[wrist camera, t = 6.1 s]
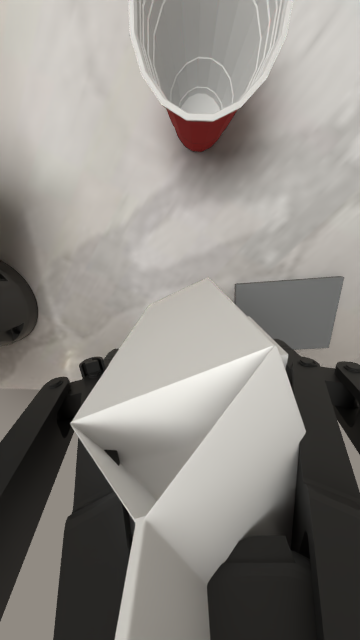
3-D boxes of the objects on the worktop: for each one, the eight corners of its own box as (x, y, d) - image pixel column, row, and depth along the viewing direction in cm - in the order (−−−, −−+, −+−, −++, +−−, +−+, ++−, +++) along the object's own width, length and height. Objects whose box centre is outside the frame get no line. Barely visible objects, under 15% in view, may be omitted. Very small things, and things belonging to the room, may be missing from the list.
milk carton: (208, 276, 19) (567, 626, 1) (232, 333, 21) (486, 760, 3) (148, 304, 20) (-116, 691, 2) (176, 355, 22) (147, 759, 5)
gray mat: (233, 350, 33) (234, 352, 33) (235, 283, 29) (236, 284, 29) (325, 345, 32) (328, 347, 32) (340, 276, 28) (344, 276, 28)
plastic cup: (138, 136, 24) (93, 29, 12) (191, 36, 20) (197, -232, 9) (203, 196, 26) (216, 151, 14) (260, 113, 22) (336, -28, 11)
